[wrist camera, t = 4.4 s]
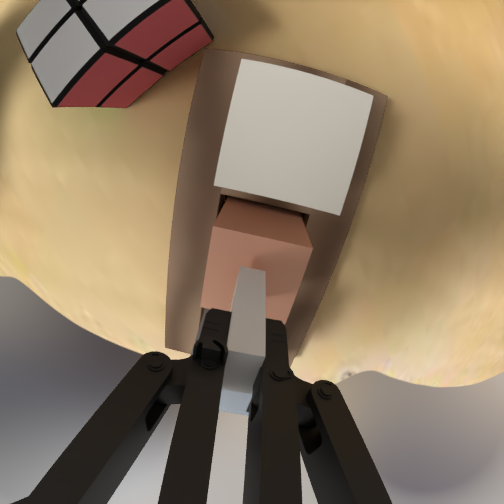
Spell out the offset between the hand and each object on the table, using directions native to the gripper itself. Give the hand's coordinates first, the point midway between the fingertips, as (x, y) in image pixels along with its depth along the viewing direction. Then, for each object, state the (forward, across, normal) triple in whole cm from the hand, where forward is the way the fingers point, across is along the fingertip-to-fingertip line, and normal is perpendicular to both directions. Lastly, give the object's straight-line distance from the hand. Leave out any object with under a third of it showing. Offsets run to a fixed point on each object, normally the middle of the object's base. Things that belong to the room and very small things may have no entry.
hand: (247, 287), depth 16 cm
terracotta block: (+8, 0, 0) cm, 8 cm away
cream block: (+6, 0, +9) cm, 10 cm away
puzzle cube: (+9, -14, +16) cm, 23 cm away
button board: (+9, 0, 0) cm, 9 cm away
